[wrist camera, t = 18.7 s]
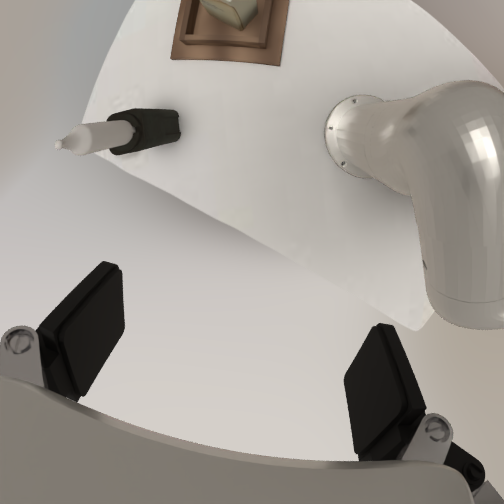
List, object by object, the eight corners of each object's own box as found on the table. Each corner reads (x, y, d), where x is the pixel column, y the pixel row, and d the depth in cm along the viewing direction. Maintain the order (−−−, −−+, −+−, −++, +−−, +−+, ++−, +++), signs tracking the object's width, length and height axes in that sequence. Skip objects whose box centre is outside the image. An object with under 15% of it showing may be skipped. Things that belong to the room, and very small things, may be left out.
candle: (147, 114, 40) (33, 124, 18) (178, 108, 40) (74, 106, 17) (151, 145, 42) (41, 180, 20) (181, 140, 42) (83, 169, 19)
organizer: (292, -21, 29) (293, -33, 25) (279, 66, 36) (279, 60, 32) (189, -24, 29) (180, -35, 25) (172, 59, 36) (161, 54, 32)
